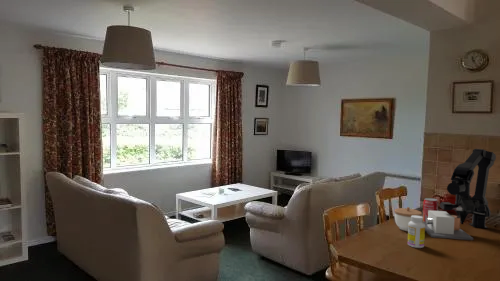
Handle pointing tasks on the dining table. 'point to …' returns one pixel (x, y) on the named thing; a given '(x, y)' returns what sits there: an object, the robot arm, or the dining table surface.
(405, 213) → the lidded bowl
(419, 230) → the supplement bottle
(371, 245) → the dining table surface
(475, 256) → the dining table surface
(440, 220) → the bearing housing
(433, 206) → the soda can
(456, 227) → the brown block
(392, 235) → the dining table surface
